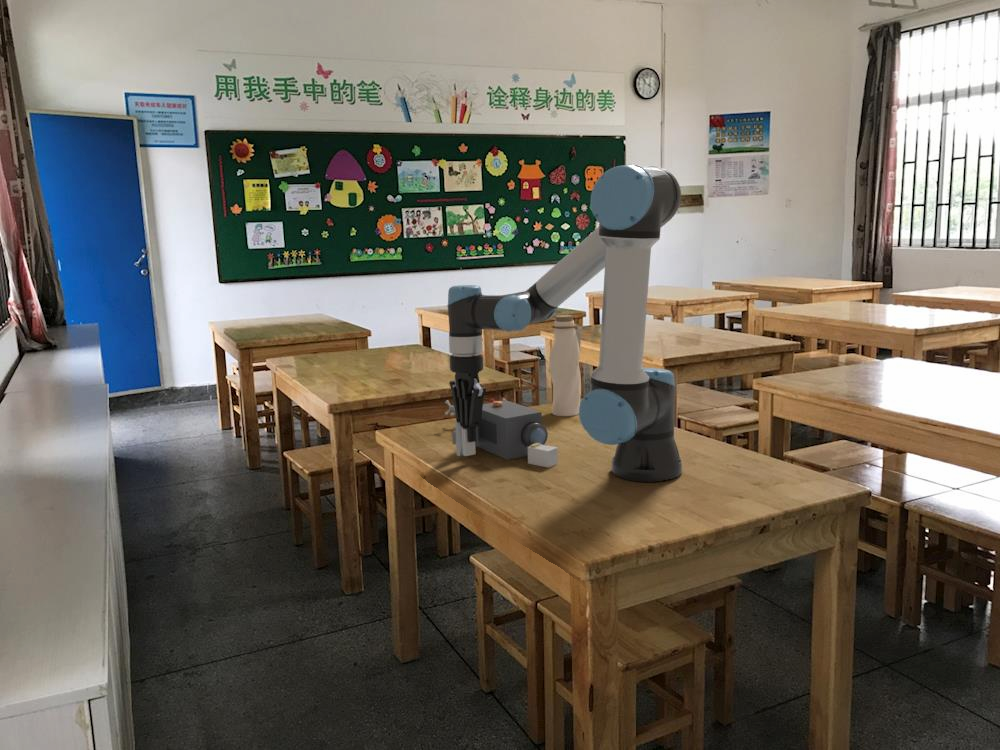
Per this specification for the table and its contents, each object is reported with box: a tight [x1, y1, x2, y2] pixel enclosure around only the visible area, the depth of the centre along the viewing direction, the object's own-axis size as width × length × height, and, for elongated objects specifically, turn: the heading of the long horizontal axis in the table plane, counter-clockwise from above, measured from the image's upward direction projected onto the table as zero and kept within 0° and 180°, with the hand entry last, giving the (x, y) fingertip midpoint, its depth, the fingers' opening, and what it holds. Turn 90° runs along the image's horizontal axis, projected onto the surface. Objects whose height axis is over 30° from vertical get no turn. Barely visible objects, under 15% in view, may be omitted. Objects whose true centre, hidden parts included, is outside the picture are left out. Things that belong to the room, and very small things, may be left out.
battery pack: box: [527, 443, 559, 468], centre depth 187 cm, size 6×4×4 cm, turn 51°
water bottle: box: [548, 314, 582, 417], centre depth 231 cm, size 10×9×28 cm
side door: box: [451, 420, 477, 457], centre depth 196 cm, size 12×2×8 cm, turn 162°
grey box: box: [475, 399, 549, 461], centre depth 198 cm, size 19×10×11 cm, turn 31°
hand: (469, 454), depth 189 cm, fingers closed
